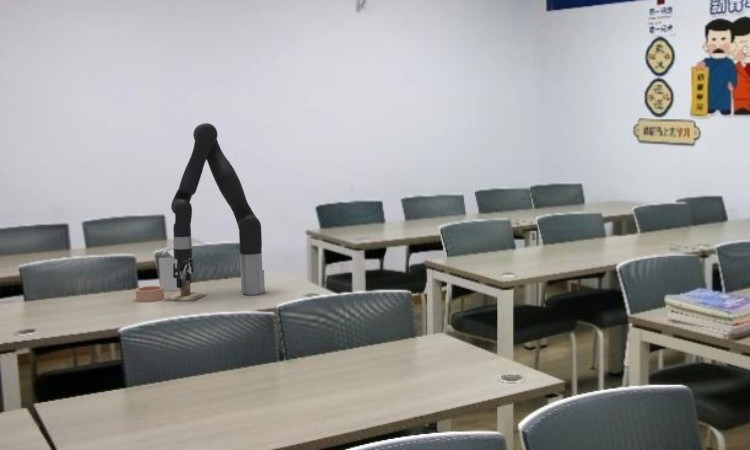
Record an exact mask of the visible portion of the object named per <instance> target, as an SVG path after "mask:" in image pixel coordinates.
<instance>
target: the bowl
mask: <svg viewBox="0 0 750 450" xmlns="http://www.w3.org/2000/svg"><path fill="white" fill-rule="evenodd" d="M164 295H165V291H164V289H163V287H161V286H160V285H149V286H141V287H138V288H136V289H135V300H136V302H139V303H152V302H159V301H163V300H165V296H164Z"/></svg>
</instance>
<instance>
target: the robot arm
mask: <svg viewBox="0 0 750 450" xmlns="http://www.w3.org/2000/svg"><path fill="white" fill-rule="evenodd" d="M193 139H194V143H193V149H192V153H191V154H190V157H189V160H188V162H187V165H186V167H185V168H184V171H183V173H182V177H181V180H180V183H179V186H178V189H177V190H176V192H175V195H174V197H173V198H172V202H171V206H170V209H171V211H172V213H173V214H174V217H175V218H174V219H175V220H174V223H173V229H172V230H173V242H172V245H173V246H172V249H173V250H174V259H177V263H174V264H173V278H176V282H177V288H182V281H183V275H184V274H185V280H190V285H191V284H192V275H193V274H194V273H195V272H194V271H195V269H194V258H193V239H192V226H191V225H192V224H191V223H192V217H193V209H192V208H193V207H192V203H191V200H192V197H193V195H195V194H196V192H197V189H198V186H199V184H200V181H201V177H202V174H203V171H204V166H205V163H206V162H207V165H208V166H209V170H210V172H211V174H212V177H213V179H214V181H215V184H216V186H217V188H218V190H219V191H220V193H221V195H222V197H223V199H225V201H226V203H227V204H228V206H229V208H230V209H231V211H232V213H233V216H234V218H235V221H236V224H237V228H238V235H239V236H238V237H239V238H238V240H239V265H240V266H239V267H240V289H241V291H240V292H241V294H243V295H246V296H251V295H252V296H253V295H262V294H263V293H265V292H266V288H265V287H266V286H265V285H266V284H265V282H266V281H265V269H263V254H262V253H263V251H262V249H263V247H262V246H263V243H262V240H263V239H262V238H263V237H262V224H261V222H260V220H259V218H258V217H257V215H255V213H254V211H253V210H252V207H251V205H250V203H248V201H247V198H246V195H245V191H244V188H243V185H242V183H241V180H240V178H239V176H238V175H237V172H236V171H235V168H234V167H233V166H232V164H231V163H230V161H229V160H228V158H227V157H226V155H225V154H224V152H223V151H222V148H221V146H220V144H219V142H218V131H217V128H216V127H215V126H214V125H213V124H212V123H208V122H207V123H206V122H203V123H201V124H198V125H197V126H196V127H195V129H194V130H193Z"/></svg>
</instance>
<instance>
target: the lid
mask: <svg viewBox="0 0 750 450" xmlns="http://www.w3.org/2000/svg"><path fill="white" fill-rule="evenodd" d="M179 291H180V292H178V293H173V294H171V295H169V298H170V300H173V301H172V302H179V301H190V300H196V299H199V298H201V297H202V294H203V293H202V292H197V291H195V292H194V291H191V284H190V280H186V279H184V280H183V279H182V288H180V289H179ZM201 299H202V298H201ZM199 300H200V299H199Z"/></svg>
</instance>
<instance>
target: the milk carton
mask: <svg viewBox="0 0 750 450" xmlns="http://www.w3.org/2000/svg"><path fill="white" fill-rule="evenodd" d="M161 254H162V255H160V256H159V258H158V266H159V283H160V284H159V286H161V287H163V289H164V292H178V291H180V288H177V282H176V278H173V264H174V263H177V259H174V250H173V246H170V247H167V248H165V250H163V251H162V252H161Z"/></svg>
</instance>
